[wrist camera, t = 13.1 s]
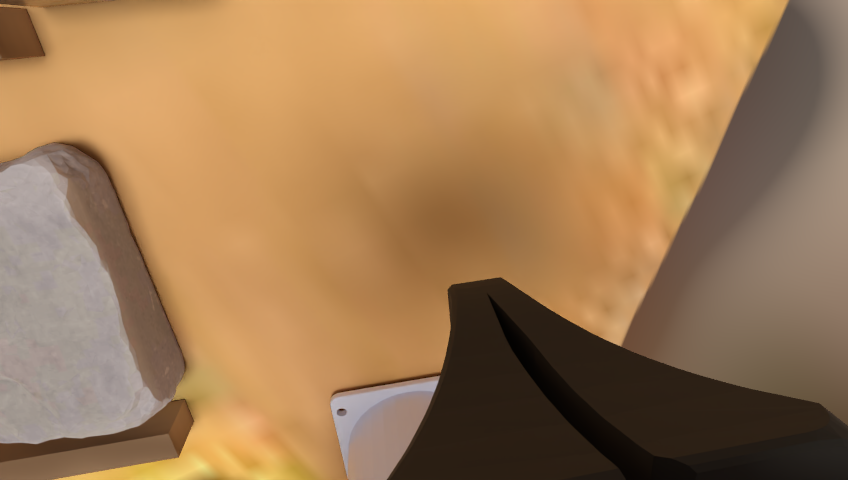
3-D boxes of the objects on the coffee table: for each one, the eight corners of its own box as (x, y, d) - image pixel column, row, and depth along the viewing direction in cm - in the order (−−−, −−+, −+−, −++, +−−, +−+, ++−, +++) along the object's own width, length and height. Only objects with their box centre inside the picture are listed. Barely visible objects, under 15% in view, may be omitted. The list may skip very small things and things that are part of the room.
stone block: (30, 385, 24) (211, 374, 23) (-67, 462, 20) (151, 454, 18) (-99, 159, 19) (120, 131, 18) (-263, 193, 15) (10, 159, 14)
